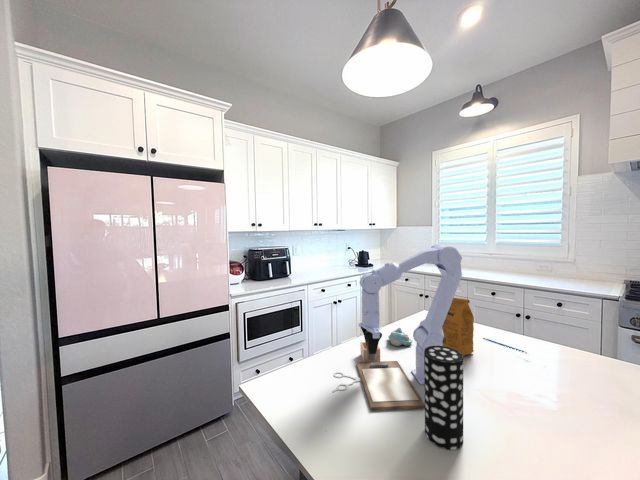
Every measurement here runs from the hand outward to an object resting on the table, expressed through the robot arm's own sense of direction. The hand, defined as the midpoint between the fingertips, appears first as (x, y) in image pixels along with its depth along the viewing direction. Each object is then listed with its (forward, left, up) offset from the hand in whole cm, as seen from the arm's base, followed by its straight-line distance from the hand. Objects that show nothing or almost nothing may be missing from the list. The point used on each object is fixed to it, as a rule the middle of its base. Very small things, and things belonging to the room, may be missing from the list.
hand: (371, 351), depth 86 cm
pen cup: (-2, -13, -9) cm, 17 cm away
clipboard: (-4, +3, -9) cm, 11 cm away
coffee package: (-37, -17, -10) cm, 42 cm away
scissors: (+4, +1, -10) cm, 11 cm away
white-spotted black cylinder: (-12, +24, -10) cm, 29 cm away
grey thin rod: (-59, -19, -10) cm, 63 cm away
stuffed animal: (-18, -26, -10) cm, 33 cm away
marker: (0, 0, -2) cm, 2 cm away
